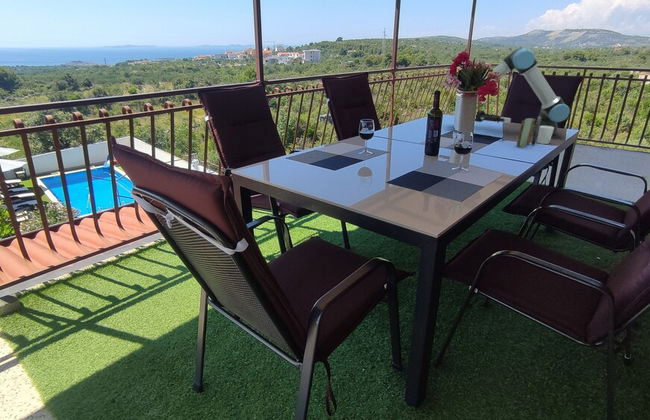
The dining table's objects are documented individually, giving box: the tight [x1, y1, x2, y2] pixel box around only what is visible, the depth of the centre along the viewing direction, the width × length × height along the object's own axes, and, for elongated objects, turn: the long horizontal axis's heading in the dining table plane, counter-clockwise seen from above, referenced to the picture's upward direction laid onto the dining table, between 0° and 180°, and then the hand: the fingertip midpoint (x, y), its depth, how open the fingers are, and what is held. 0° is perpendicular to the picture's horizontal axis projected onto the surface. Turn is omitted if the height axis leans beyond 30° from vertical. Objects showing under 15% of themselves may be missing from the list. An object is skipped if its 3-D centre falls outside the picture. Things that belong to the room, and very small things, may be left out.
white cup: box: [536, 126, 554, 145], centre depth 232 cm, size 8×8×10 cm
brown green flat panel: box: [516, 118, 537, 147], centre depth 225 cm, size 12×1×15 cm, turn 122°
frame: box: [518, 115, 542, 149], centre depth 223 cm, size 16×2×17 cm, turn 124°
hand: (510, 120), depth 231 cm, fingers closed
